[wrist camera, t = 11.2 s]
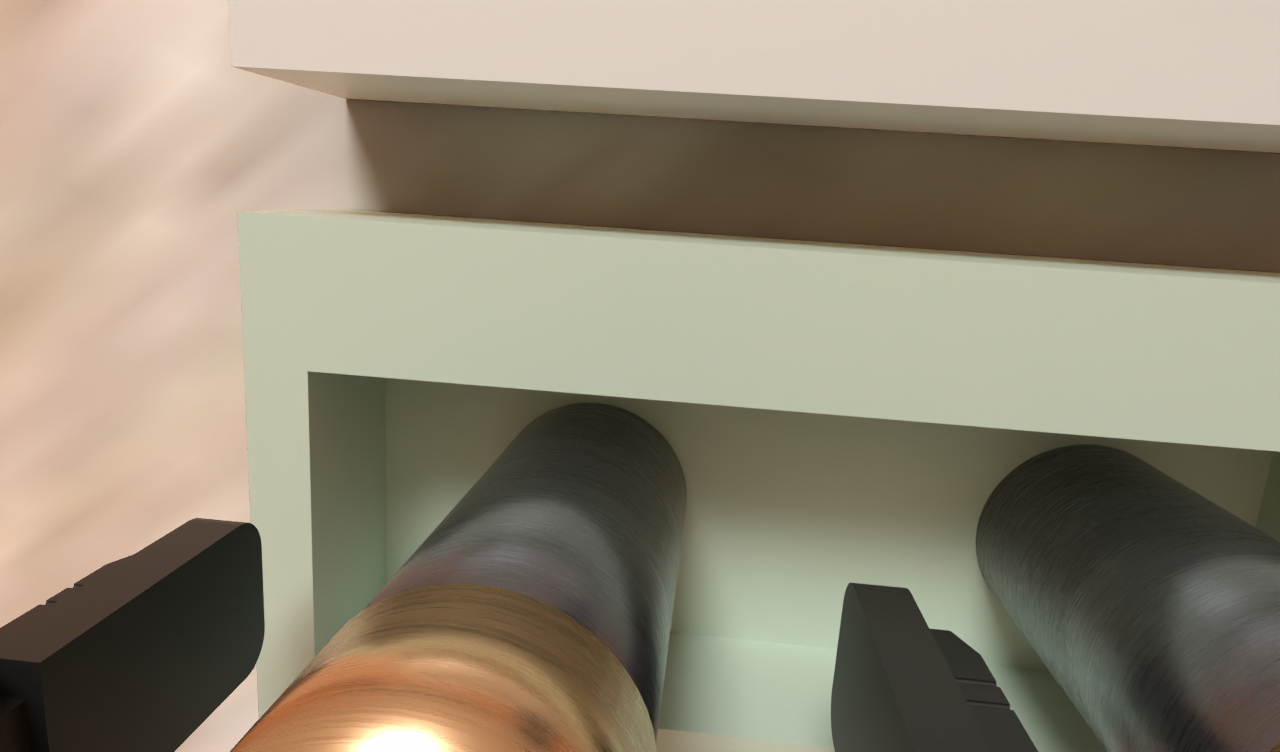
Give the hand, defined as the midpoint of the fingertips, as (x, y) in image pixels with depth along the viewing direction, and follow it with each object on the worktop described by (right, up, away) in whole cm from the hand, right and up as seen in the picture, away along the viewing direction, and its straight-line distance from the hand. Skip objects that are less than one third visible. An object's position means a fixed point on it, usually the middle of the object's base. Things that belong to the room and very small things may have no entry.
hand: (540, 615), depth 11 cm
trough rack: (+4, +1, +5) cm, 7 cm away
